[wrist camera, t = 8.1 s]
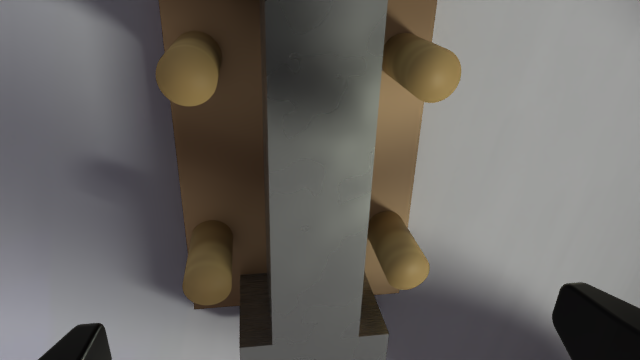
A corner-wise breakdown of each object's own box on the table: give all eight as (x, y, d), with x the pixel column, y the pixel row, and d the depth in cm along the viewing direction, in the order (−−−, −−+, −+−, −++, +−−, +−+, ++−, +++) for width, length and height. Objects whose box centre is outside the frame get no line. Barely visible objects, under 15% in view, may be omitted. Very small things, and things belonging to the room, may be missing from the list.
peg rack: (157, -65, 14) (127, -74, 11) (430, -54, 16) (489, -59, 12) (197, 291, 20) (186, 365, 17) (391, 276, 22) (422, 342, 18)
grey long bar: (214, -173, 12) (202, -227, 9) (398, -160, 13) (456, -205, 10) (244, 346, 21) (244, 427, 17) (356, 336, 21) (379, 411, 18)
